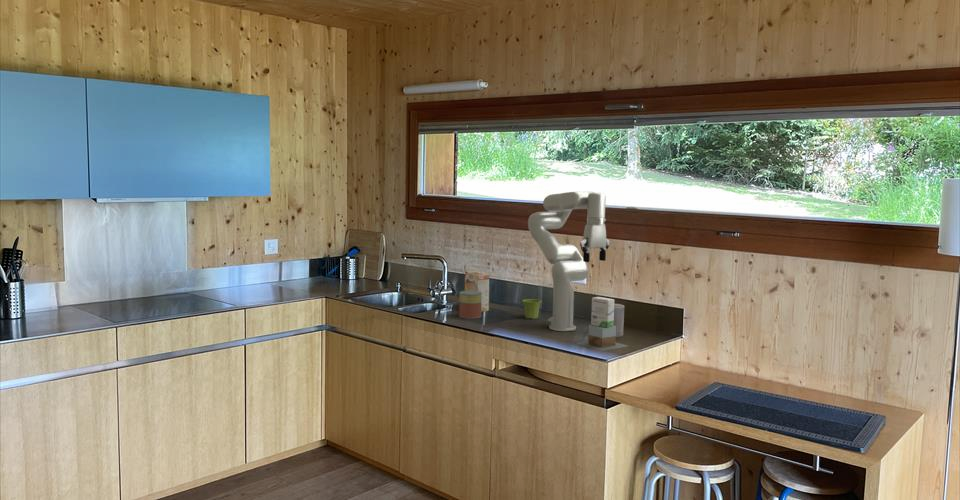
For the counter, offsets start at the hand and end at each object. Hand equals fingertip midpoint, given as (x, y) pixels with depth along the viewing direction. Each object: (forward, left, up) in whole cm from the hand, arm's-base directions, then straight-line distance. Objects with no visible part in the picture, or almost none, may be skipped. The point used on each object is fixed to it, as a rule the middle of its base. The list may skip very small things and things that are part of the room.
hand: (594, 261), depth 313 cm
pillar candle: (0, +13, -34) cm, 37 cm away
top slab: (+11, -5, -30) cm, 32 cm away
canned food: (-68, -17, -34) cm, 78 cm away
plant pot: (-49, +7, -34) cm, 60 cm away
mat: (+11, -5, -34) cm, 36 cm away
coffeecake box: (-82, -3, -34) cm, 89 cm away
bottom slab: (+11, -5, -34) cm, 36 cm away
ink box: (+11, -5, -26) cm, 29 cm away
